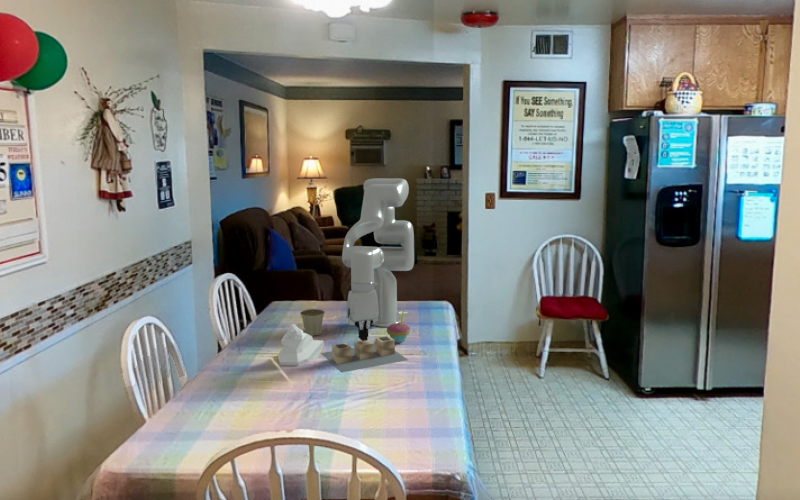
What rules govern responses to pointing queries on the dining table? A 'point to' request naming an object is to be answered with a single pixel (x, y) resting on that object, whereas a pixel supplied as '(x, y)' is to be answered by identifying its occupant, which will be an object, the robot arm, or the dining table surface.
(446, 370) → the dining table surface
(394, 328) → the cupcake
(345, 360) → the digit block
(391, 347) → the digit block
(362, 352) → the plain block
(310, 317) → the flower pot
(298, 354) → the white faceted lump
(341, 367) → the mat
